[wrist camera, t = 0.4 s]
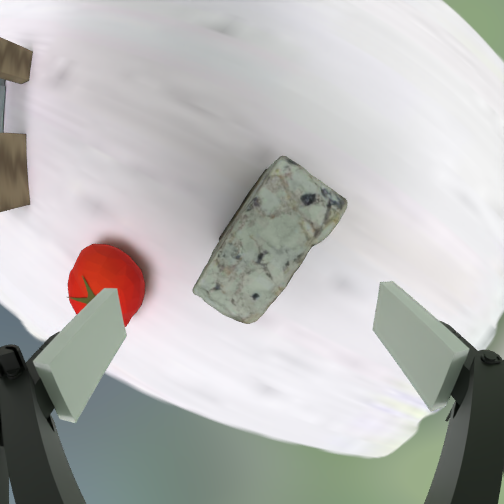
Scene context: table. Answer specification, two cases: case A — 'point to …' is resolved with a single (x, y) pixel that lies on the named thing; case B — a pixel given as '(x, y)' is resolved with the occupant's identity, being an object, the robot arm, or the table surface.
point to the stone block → (268, 240)
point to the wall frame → (11, 144)
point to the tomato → (106, 278)
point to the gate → (1, 103)
